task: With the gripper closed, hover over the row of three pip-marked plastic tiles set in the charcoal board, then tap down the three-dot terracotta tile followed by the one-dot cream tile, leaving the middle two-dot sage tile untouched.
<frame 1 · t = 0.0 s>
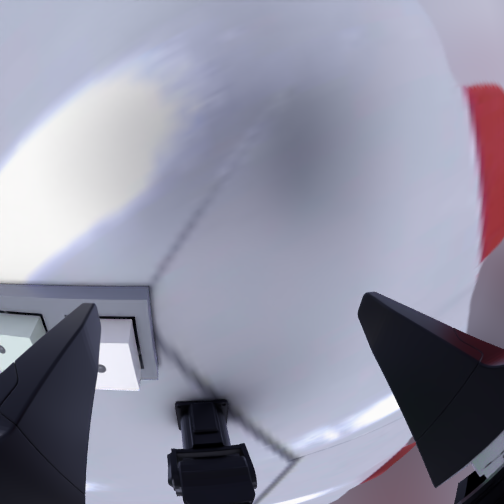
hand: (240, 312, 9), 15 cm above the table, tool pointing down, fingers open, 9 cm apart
board: (31, 325, 23), on the table
tile 1: (102, 356, 22), point 4 cm above the table, slide at 0.0 cm
tile 2: (20, 349, 20), point 4 cm above the table, slide at 0.0 cm
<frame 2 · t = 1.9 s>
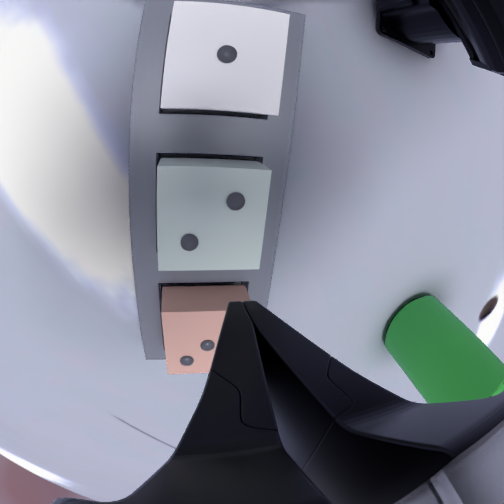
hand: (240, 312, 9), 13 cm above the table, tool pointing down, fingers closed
board: (204, 196, 20), on the table
bottle: (408, 320, 33), on the table
tile 3: (205, 331, 21), point 4 cm above the table, slide at 0.0 cm
tile 1: (223, 59, 14), point 4 cm above the table, slide at 0.0 cm
tile 2: (209, 213, 17), point 4 cm above the table, slide at 0.0 cm
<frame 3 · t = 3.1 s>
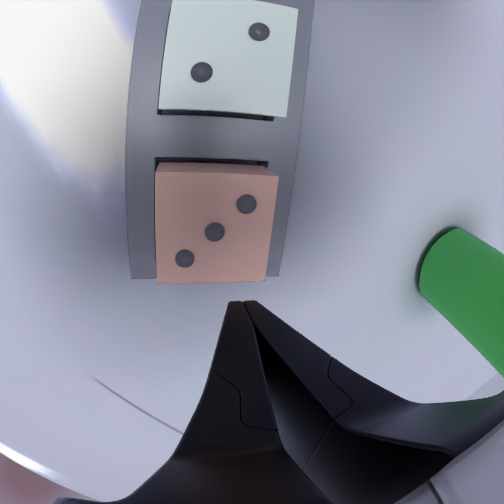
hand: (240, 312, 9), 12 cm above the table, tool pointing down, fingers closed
board: (217, 66, 16), on the table
bottle: (441, 261, 28), on the table
tile 3: (211, 221, 16), point 4 cm above the table, slide at 0.0 cm
tile 2: (226, 56, 12), point 4 cm above the table, slide at 0.0 cm
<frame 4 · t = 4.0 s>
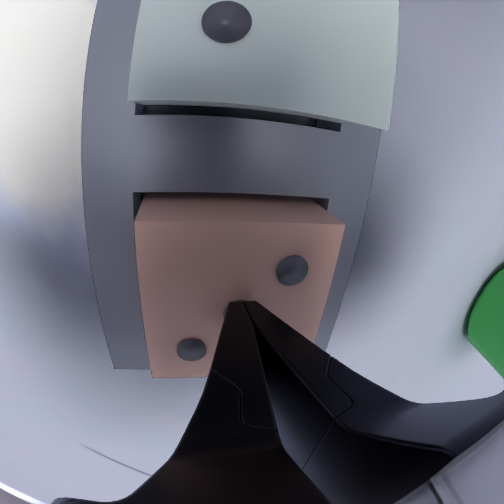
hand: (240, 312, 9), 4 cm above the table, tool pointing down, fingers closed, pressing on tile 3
board: (242, 35, 9), on the table
bottle: (489, 299, 21), on the table
tile 3: (231, 287, 11), point 2 cm above the table, slide at -1.2 cm, touching gripper
tile 2: (269, 5, 6), point 4 cm above the table, slide at 0.0 cm
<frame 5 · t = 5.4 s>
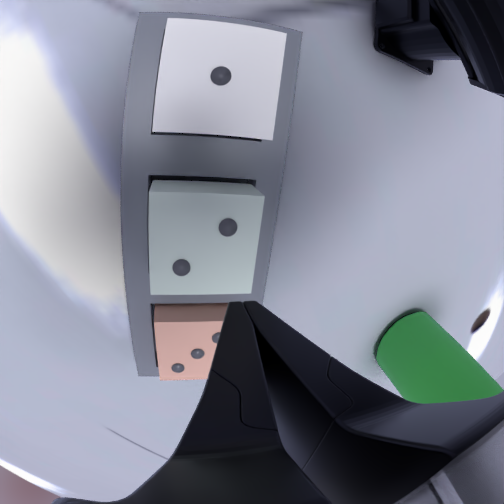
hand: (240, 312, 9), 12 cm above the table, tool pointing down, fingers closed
board: (197, 217, 20), on the table
bottle: (400, 335, 33), on the table
tile 3: (195, 340, 22), point 2 cm above the table, slide at -1.2 cm
tile 1: (216, 79, 14), point 4 cm above the table, slide at 0.0 cm
tile 2: (201, 237, 17), point 4 cm above the table, slide at 0.0 cm
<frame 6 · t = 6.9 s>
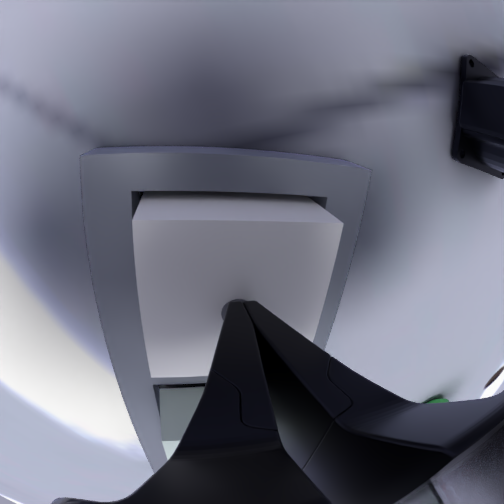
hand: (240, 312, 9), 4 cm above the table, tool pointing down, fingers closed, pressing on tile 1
board: (214, 390, 16), on the table
tile 1: (229, 286, 11), point 2 cm above the table, slide at -1.2 cm, touching gripper
tile 2: (224, 439, 13), point 4 cm above the table, slide at 0.0 cm
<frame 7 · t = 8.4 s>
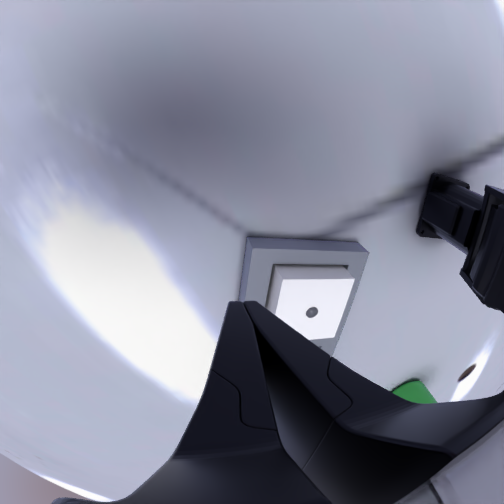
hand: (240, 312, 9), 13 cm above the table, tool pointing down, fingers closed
board: (278, 358, 30), on the table
bottle: (399, 394, 42), on the table
tile 1: (305, 301, 24), point 2 cm above the table, slide at -1.3 cm
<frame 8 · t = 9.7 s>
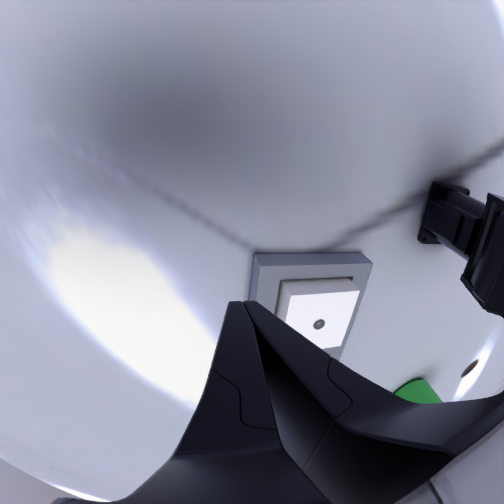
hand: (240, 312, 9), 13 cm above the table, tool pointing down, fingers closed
board: (285, 366, 30), on the table
bottle: (403, 393, 43), on the table
tile 1: (312, 313, 25), point 2 cm above the table, slide at -1.3 cm
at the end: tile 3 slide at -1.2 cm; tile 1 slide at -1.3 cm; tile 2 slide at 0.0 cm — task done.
